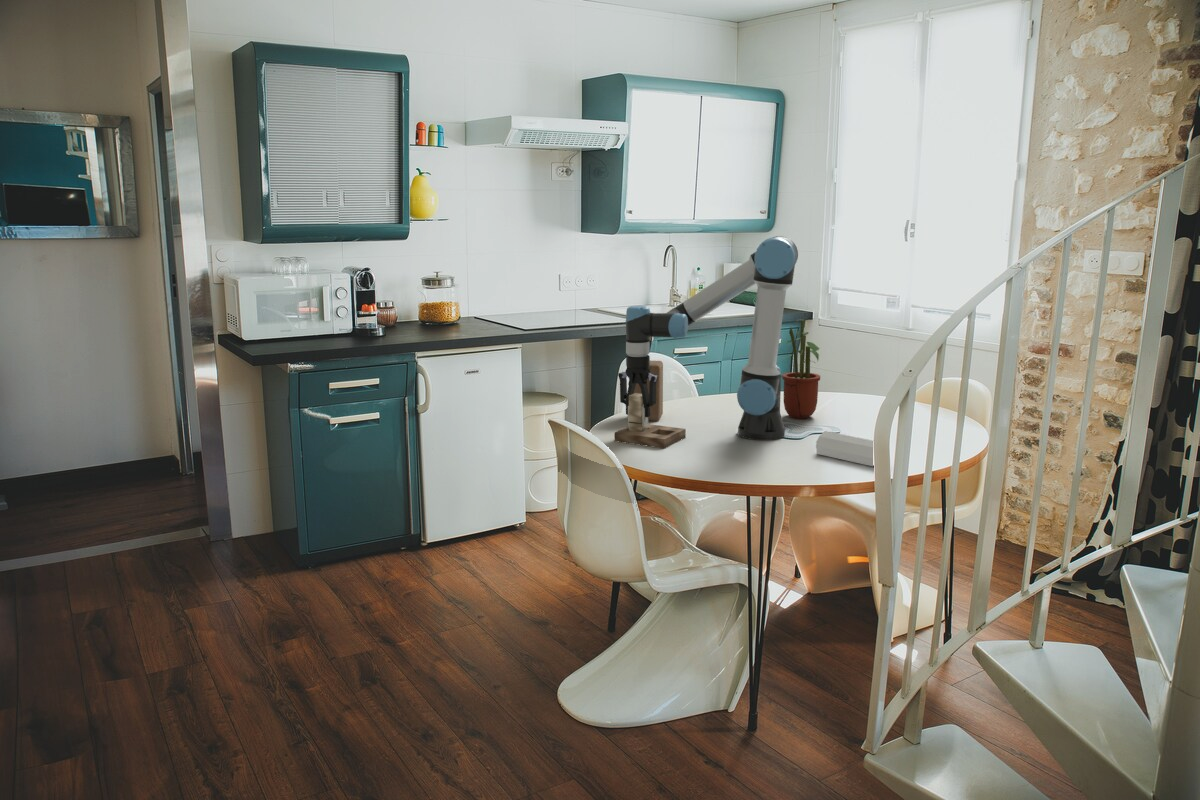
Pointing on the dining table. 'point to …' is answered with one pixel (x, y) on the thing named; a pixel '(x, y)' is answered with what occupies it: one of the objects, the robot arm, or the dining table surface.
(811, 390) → the potted plant
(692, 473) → the dining table surface
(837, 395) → the dining table surface
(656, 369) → the wooden block
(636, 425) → the beech peg
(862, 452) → the crystal
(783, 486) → the dining table surface
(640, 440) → the walnut board
